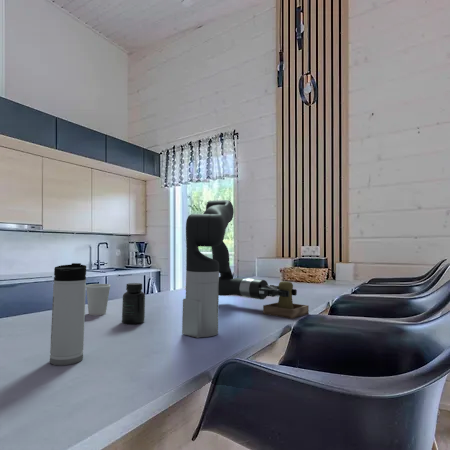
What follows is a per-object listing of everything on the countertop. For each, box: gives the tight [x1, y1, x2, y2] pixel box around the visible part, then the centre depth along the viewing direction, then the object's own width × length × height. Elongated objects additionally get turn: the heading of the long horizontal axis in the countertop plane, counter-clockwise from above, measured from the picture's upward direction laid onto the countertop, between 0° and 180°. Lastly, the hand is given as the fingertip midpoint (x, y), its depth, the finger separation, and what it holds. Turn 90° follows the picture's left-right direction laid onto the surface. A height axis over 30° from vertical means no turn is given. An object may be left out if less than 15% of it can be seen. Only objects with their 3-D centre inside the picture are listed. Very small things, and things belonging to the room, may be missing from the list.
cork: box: [277, 280, 294, 309], centre depth 124 cm, size 6×6×11 cm
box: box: [262, 301, 310, 320], centre depth 123 cm, size 12×12×3 cm
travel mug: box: [49, 262, 87, 366], centre depth 71 cm, size 6×7×20 cm
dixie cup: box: [86, 283, 111, 316], centre depth 119 cm, size 8×8×10 cm
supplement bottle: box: [121, 282, 146, 326], centre depth 107 cm, size 7×7×12 cm
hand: (292, 293), depth 122 cm, fingers open, 4 cm apart
